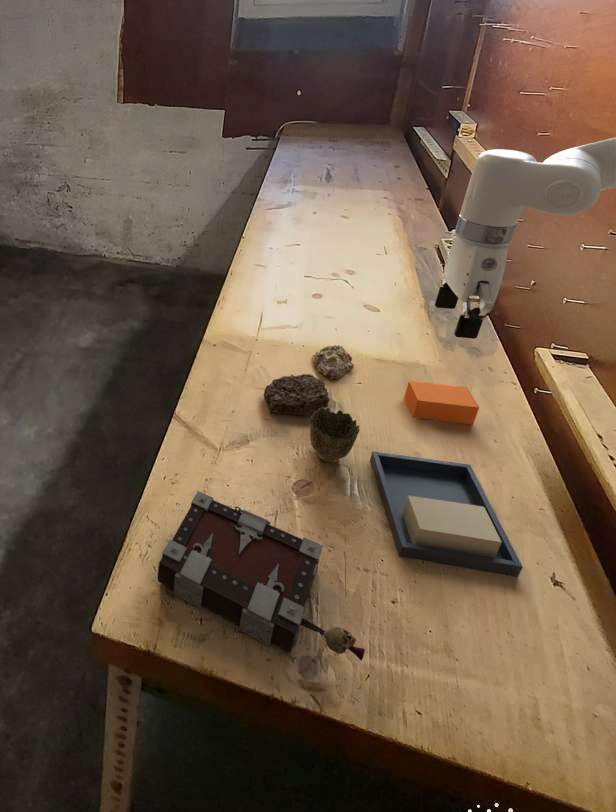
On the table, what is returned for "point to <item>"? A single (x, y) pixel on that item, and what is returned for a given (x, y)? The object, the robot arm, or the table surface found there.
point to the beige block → (450, 526)
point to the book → (246, 573)
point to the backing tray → (437, 483)
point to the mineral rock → (333, 361)
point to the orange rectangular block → (441, 402)
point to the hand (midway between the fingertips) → (454, 321)
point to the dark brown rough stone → (296, 394)
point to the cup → (332, 434)
